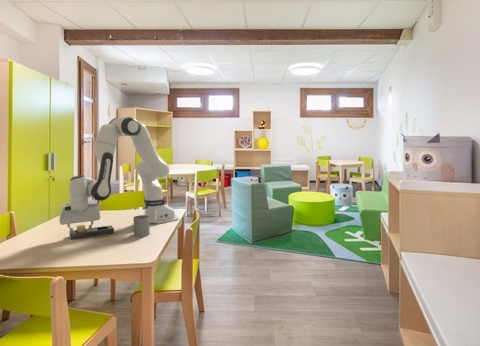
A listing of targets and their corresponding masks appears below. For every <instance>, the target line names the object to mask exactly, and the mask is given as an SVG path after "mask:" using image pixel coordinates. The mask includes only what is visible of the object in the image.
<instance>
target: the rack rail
mask: <svg viewBox="0 0 480 346" xmlns="http://www.w3.org/2000/svg"><path fill="white" fill-rule="evenodd" d="M85 230H86V232H81V233H77V229H73V231H72V232H70V230H69V231H68V232H69V238H70V241H73V240H80V239H81V240H82V239H86V238H87V239H88V238H93V237H101V236H107V235H114V234H115V228H114V227H113V226H112V224H111V225H104V226H97V227H96V226H95V227H92V229H89V227H87V228H85Z"/></svg>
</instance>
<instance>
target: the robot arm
mask: <svg viewBox="0 0 480 346" xmlns="http://www.w3.org/2000/svg"><path fill="white" fill-rule="evenodd" d="M127 136H128V137H130V138H131V140H132V142H133V146H134V148H135V151H136V154H137V156H138V157H139V158H141V159H142V160H141V161H139V162H137V163H136V166H135V171H136V174H138V176H139V177H140V179H141V182H142V185H143V190H144V191H143V192H144V200H143V201H144V202H143V207H144V212H143V213H144V215H147V216H149V224H163V223H169V222H174V221H179V219H180V218H179V216H178V215H176V214H175V210H174V208H172V207H171V206H170V205H168V204H167V203H168V199H165V198H163V186H162V184H160V182H159V180H158V179H163V178H167V177H168V175H169V174H170V166H169V164H168V163H167V162H165V161H164V160H163V159H162V157H161V156H160V155H159V153H158V152H157V149H156V148H155V146H154V142H153V140H152V137H151V135H150V131H149V130H148V129H147V126H146V125H145V124H144V123H142V122H139V121H138V120H137V119H135V118H134V117H131V116H120V117H115V118H113V119H110V121H109V122H108V123H107V124H103V125H101V126H100V128H99V130H98V133H97V134H96V138H95V142H94V146H93V148H94V149H93V151H94V152H93V153H94V155H95V157H96V158H97V160H98V162H99V170H98V175H97V179H92V178H90V177H87V176H85V175H84V174H83V175H82V174H81V175H75V176H73V177H71V178H70V179H69V182H68V185H69V188H68V189H69V190H68V192H69V196H70V198H69V202H68V203H65V204H63V205H61V207H60V209H61V211H60V212H59V219H58V220H59V224H60V225H61V226H62V225H66V227H67V228H68V229H69V231H70V232H72V231H73V230H74V227H71V224H79V223H86V222H90V224H89V225H88V228H89V229H92V228H93V225H94V223H95V221H99V220H100V219H101V213H100V211H101V206H100V204H98V203H90V204H89V198H92V199H94V200H96V201H99V202H100V201H101V202H102V201H105V200H107V199H108V198H109V197H110V196H111V195H112V186H111V178H112V170H113V165H114V158H115V152H116V149H117V148H116V147H117V143H118V140H119V138H120V137H127Z"/></svg>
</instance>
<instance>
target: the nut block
mask: <svg viewBox="0 0 480 346" xmlns="http://www.w3.org/2000/svg"><path fill="white" fill-rule="evenodd" d="M85 229H86V225H85V224H80V225H78V224H77V225H76V230H77V233H81V232H86V230H85Z"/></svg>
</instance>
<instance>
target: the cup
mask: <svg viewBox="0 0 480 346" xmlns="http://www.w3.org/2000/svg"><path fill="white" fill-rule="evenodd" d="M132 220H133V236H134V237H138V238H139V237H142V238H143V237H147V236H149V235H150V234H151V233H150V232H151V231H150V223H149V216H147V215H143V214H140V215H135V216H133V219H132Z"/></svg>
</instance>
